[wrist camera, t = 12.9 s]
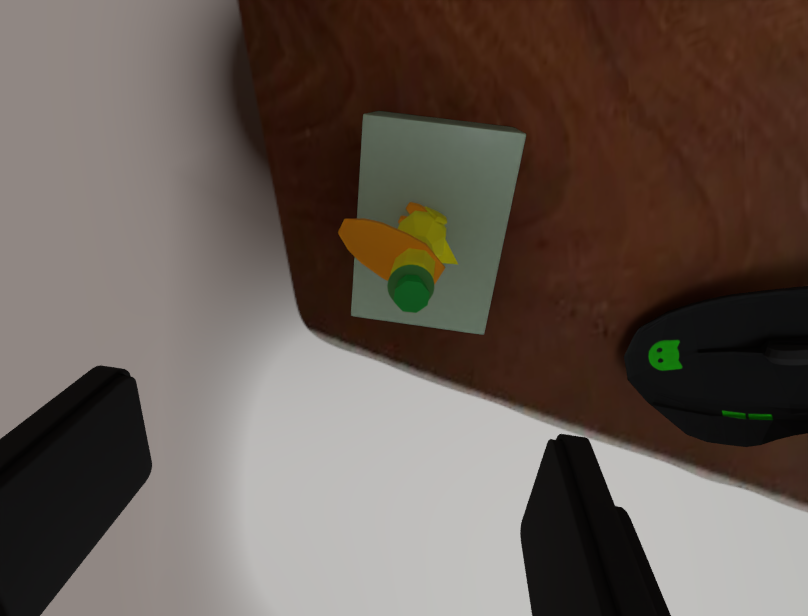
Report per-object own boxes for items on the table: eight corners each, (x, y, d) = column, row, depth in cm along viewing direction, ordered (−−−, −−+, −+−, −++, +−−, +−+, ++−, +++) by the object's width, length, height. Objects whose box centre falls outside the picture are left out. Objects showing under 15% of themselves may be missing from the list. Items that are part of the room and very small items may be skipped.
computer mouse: (638, 442, 38) (644, 424, 41) (929, 454, 28) (907, 430, 31) (616, 309, 37) (623, 302, 40) (907, 276, 27) (886, 270, 31)
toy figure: (358, 214, 30) (305, 281, 19) (383, 166, 29) (340, 210, 18) (444, 263, 31) (439, 353, 20) (472, 219, 29) (483, 291, 19)
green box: (365, 285, 39) (350, 316, 34) (378, 110, 33) (363, 113, 27) (479, 301, 38) (483, 335, 33) (514, 127, 32) (526, 133, 27)
